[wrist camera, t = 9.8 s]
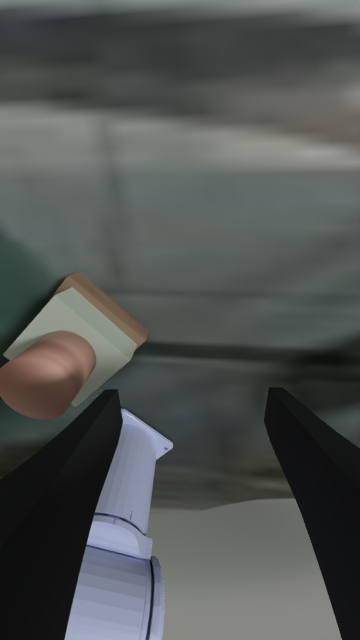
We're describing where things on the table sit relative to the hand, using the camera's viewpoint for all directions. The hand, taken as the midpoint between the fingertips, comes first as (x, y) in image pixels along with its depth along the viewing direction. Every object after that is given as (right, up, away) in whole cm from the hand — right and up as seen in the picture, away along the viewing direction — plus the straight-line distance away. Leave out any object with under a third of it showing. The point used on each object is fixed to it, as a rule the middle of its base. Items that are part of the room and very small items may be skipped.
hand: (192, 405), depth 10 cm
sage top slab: (-9, +2, +9) cm, 13 cm away
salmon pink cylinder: (-9, +1, +6) cm, 11 cm away
